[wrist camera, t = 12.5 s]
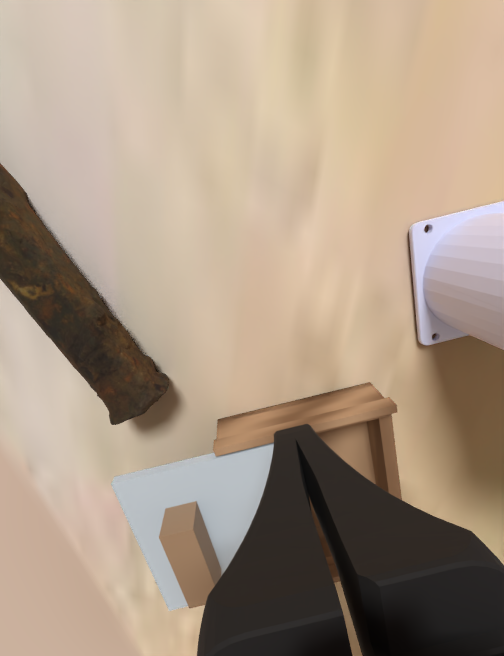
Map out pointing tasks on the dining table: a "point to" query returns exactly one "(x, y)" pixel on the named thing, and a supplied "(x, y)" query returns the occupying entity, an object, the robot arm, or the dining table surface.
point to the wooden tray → (327, 435)
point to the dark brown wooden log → (72, 310)
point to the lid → (193, 517)
